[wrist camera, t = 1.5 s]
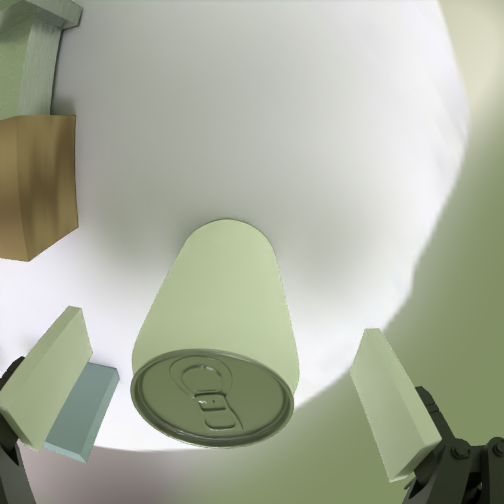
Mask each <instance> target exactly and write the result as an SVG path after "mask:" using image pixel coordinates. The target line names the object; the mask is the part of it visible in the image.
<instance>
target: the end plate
mask: <svg viewBox="0 0 504 504" xmlns="http://www.w3.org/2000/svg"><path fill="white" fill-rule="evenodd" d="M118 382H119V376H118V373H117V369H115V368H110V367H105V366H101V365H96V364H91V363H87V364H86V365H85V367H84V369H83V370H82V372H81V374H80V376H79V377H78V379H77V381H76V383H75V384H74V386H73V388H72V390H71V392H70V393H69V395H68V397H67V399H66V401H65V403H64V404H63V406H62V408H61V410H60V412H59V414H58V416H57V418H56V420H55V422H54V424H53V426H52V427H51V429H50V431H49V433H48V435H47V438H46V440H45V442H44V444H43V446H42V447H44V448H47V449H49V450H52V451H54V452H57V453H59V454H62V455H64V456H67V457H70V458H72V459H75V460H78V461H81V462H84V463H87V461H88V458H89V455H90V452H91V450H92V447H93V444H94V442H95V439H96V436H97V434H98V431H99V428H100V426H101V423H102V421H103V418H104V416H105V413H106V411H107V408H108V406H109V403H110V401H111V398H112V396H113V393H114V391H115V389H116V386H117V384H118Z"/></svg>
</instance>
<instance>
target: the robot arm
mask: <svg viewBox="0 0 504 504" xmlns="http://www.w3.org/2000/svg"><path fill="white" fill-rule="evenodd" d="M92 354H93V352H92V348H91V345H90V341H89V337H88V333H87V330H86V326H85V321H84V317H83V313H82V308H78V307H72V306H68V307H67V308H66V309H65V311H64V312H63V313H62V314H61V315H60V316H59V317H58V319H57V320H56V321H55V322H54V323H53V324H52V326H51V327H50V328H49V329H48V330H47V331H46V333H45V334H44V335H43V336H42V337H41V339H40V340H39V341H38V342H37V344H36V345H35V346H34V347H33V349H32V350H31V351H30V352H29V354H28V355H27V356H26V357H23V356H21V357H20V358H18V359H17V360H15V361H14V362H13V363H12V364H11V365H10V367H9V368H8V369H7V372H5V373H4V374H3V376H2V378H0V504H36V502H35V499H34V496H33V494H32V491H31V488H30V485H29V482H28V479H27V475H26V472H25V469H24V465H23V461H22V458H21V454H20V450H19V447H18V445H17V443H16V442H17V440H18V438H19V439H20V440H21V442H22V443H23V444H24V445H25V446H26V447H28V448H30V449H32V450H34V451H37V452H40V450H41V448H42V446H43V444H44V442H45V440H46V438H47V435H48V433H49V431H50V429H51V427H52V426H53V424H54V422H55V420H56V418H57V416H58V414H59V412H60V410H61V408H62V406H63V404H64V403H65V401H66V399H67V397H68V395H69V393H70V392H71V390H72V388H73V386H74V384H75V383H76V381H77V379H78V377H79V376H80V374H81V372H82V370H83V369H84V367H85V365H86V364H87V362H88V360H89V359H90V357H91V355H92ZM350 374H351V377H352V379H353V382H354V384H355V387H356V389H357V392H358V395H359V397H360V400H361V403H362V405H363V408H364V411H365V413H366V416H367V419H368V421H369V424H370V427H371V430H372V432H373V435H374V438H375V441H376V443H377V446H378V449H379V452H380V455H381V458H382V461H383V464H384V467H385V470H386V473H387V475H388V479H389V481H390V482H392V481H396V480H400V479H403V478H406V477H407V476H408V475H410V473H412V472H413V471H414V473H415V475H416V477H415V478H413V479H412V480H411V481H410V482H409V483H408V484H407V485H406V486H405V488H404V489H405V490H406V489H407V488H408V487H409V486H410V488H409V490H408V492H407V494H406V496H405V498H404V500H403V503H402V504H504V439H503V438H501V437H494V438H492V439H491V440H490V441H489V442H488V443H487V444H486V445H483V446H470V444H469V443H468V442H467V441H464V440H463V439H457V438H455V437H454V435H453V434H452V432H451V430H450V428H449V426H448V424H447V422H446V420H445V419H444V417H443V415H442V413H441V412H439V408H438V406H437V405H435V401H434V399H433V398H432V396H431V394H430V393H429V392H428V391H426V390H425V389H424V388H423V387H422V386H420V387H414V386H413V384H412V382H411V381H410V379H409V377H408V375H407V374H406V372H405V370H404V368H403V367H402V365H401V363H400V362H399V360H398V358H397V357H396V355H395V353H394V352H393V350H392V349H391V347H390V345H389V343H388V342H387V340H386V338H385V337H384V335H383V334H382V332H381V330H380V329H379V328H378V329H365V330H364V333H363V336H362V339H361V342H360V345H359V348H358V351H357V354H356V357H355V359H354V362H353V365H352V367H351V370H350ZM481 483H482V488H481Z"/></svg>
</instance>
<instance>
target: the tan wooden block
mask: <svg viewBox="0 0 504 504" xmlns="http://www.w3.org/2000/svg"><path fill="white" fill-rule="evenodd" d="M75 118H76V116H73V115H19V116H14V117H10V118H7V119H3V120H0V258H4V259H11V260H18V261H26V262H29V261H31V260H32V259H33V258H35V257H36V256H37V255H39V254H40V253H41V252H43V251H44V250H46V249H47V248H48V247H50V246H51V245H53V244H54V243H56V242H57V241H58V240H60V239H61V238H63V237H64V236H66V235H67V234H69V233H70V232H72V231H73V230H75V229H76V228H78V220H77V208H76V193H75V160H74V150H75Z"/></svg>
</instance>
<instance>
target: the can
mask: <svg viewBox="0 0 504 504" xmlns="http://www.w3.org/2000/svg"><path fill="white" fill-rule="evenodd" d="M132 369H133V375H134V376H133V379H132V382H131V387H130V392H131V398H132V401H133V404H134V406H135V408H136V409H137V411H138V412H139V414H140V415H141V416H142V417H143V419H144V420H145V421H146V422H147V423H149V424H150V425H151V426H152V427H154V428H155V429H156V430H158V431H159V432H161V433H163V434H165V435H166V436H168V437H171V438H173V439H175V440H178V441H180V442H183V443H186V444H190V445H194V446H199V447H205V448H215V449H229V448H239V447H245V446H249V445H253V444H256V443H259V442H262V441H264V440H266V439H268V438H270V437H272V436H274V435H275V434H277V433H278V432H279V431H280V430H281V429H282V428H284V427H285V425H286V424H287V423H288V422H289V420H290V418H291V416H292V414H293V410H294V398H293V395H294V393H295V390H296V388H297V385H298V381H299V360H298V354H297V349H296V344H295V339H294V334H293V330H292V325H291V320H290V316H289V311H288V307H287V302H286V298H285V294H284V289H283V285H282V281H281V276H280V272H279V268H278V264H277V260H276V257H275V253H274V250H273V248H272V246H271V244H270V243H269V241H268V240H267V238H266V237H265V236H264V235H263V234H262V233H261V232H260V231H258V230H257V229H256V228H254V227H252V226H251V225H248V224H246V223H243V222H240V221H236V220H229V219H226V220H218V221H214V222H211V223H208V224H206V225H204V226H202V227H200V228H198V229H197V230H195V231H194V232H193V233H192V234H191V235H190V236H189V238H188V239H187V240H186V242H185V243H184V245H183V247H182V248H181V250H180V252H179V254H178V256H177V257H176V259H175V261H174V263H173V265H172V267H171V269H170V271H169V272H168V274H167V276H166V278H165V280H164V282H163V284H162V286H161V288H160V290H159V292H158V294H157V296H156V298H155V300H154V302H153V304H152V306H151V308H150V310H149V312H148V315H147V317H146V319H145V321H144V323H143V325H142V328H141V330H140V332H139V334H138V337H137V339H136V342H135V345H134V349H133V353H132Z"/></svg>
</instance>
